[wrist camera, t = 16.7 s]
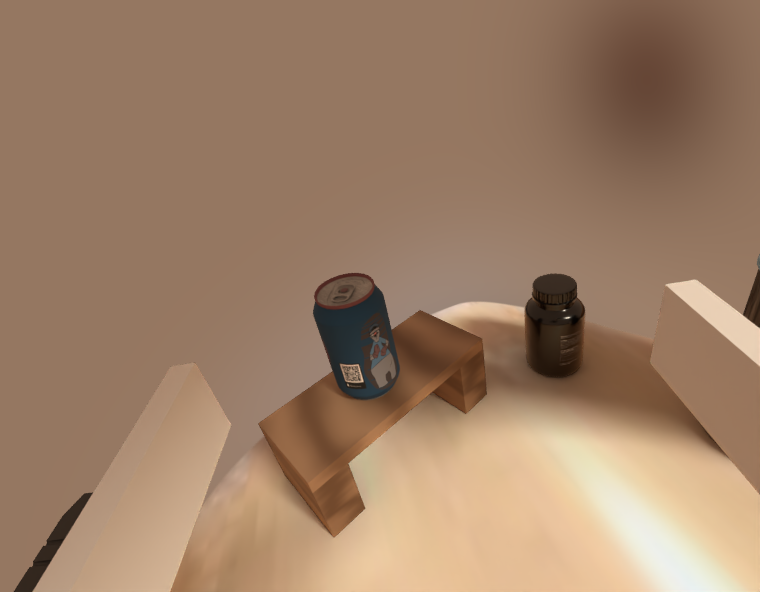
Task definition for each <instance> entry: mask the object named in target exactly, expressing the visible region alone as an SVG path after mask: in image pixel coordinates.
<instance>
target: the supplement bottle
mask: <svg viewBox="0 0 760 592" xmlns="http://www.w3.org/2000/svg"><path fill="white" fill-rule="evenodd" d="M584 325H585V308H584V305H583V304H582V302H581V301H580V300H579V299H578V298H577V283H576V282H575V280H574V279H573V278H571V277H570V276H567V275H564V274H547V275H543V276H540V277H538V278H537V279H535V281H534V283H533V292H532V298H531V299H530V300H529V301H528V302H527V304H526V306H525V340H526V358H527V362H528V364H529V365H530V367H531V368H532V369H534V370H535V371H536V372H538V373H540V374H543V375H546V376H550V377H563V376H567V375H570V374H572V373H574V372H576V371H577V370H578V369H579V368H580V366H581V364H582V358H583V343H584Z"/></svg>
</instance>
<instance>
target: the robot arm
mask: <svg viewBox="0 0 760 592" xmlns="http://www.w3.org/2000/svg"><path fill="white" fill-rule="evenodd" d="M757 265H758V268H759V269H758V272H757V276H756V278H755V281H754V284H753V287H752V290H751V293H750V296H749V298H748V301H747V304H746V307H745V310H744V313H743V315H741V314H740V313H739V312H737V311H736V310H735V309H734V308H732V307H731V306H730V305H728V304H727V303H726V302H724V301H723V300H722V299H721V298H719V297H718V296H717V295H715V294H714V293H713V292H711V291H710V290H709V289H707V288H706V287H705V286H704V285H702V284H701V283H700V282H698V281H697V280H690V281H684V282H678V283H673V284H666V285H665V288H664V293H663V299H662V303H661V308H660V314H659V319H658V324H657V329H656V334H655V339H654V344H653V349H652V354H651V359H650V364H651V365H652V366H653V367H654V369H655V370H656V371H657V372H658V373H659V375H660V376H661V377H662V378H663V379H664V381H665V382H666V383H667V384H668V385H669V387H670V388H671V389H672V390H673V391H674V393H675V394H676V395H677V396H678V397H679V399H680V400H681V401H682V402H683V403H684V405H685V406H686V407H687V408H688V409H689V410H690V412H691V413H692V414H693V415H694V416H695V418H696V419H697V420H698V421H699V422H700V424H701V425H702V426H703V428H704V429H705V430H706V432H707V433H708V434H709V435H710V436H711V437H712V439H713V440H715V442H716V443H717V444H718V445H719V446H720V448H721V449H722V450H723V451H724V452H725V454H726V455H727V456H728V457H729V458H730V460H731V461H732V462H733V463H734V464H735V466H736V467H737V468H738V469H739V470H740V472H741V473H742V474H743V475H744V476H745V478H746V479H747V480H748V481H749V482H750V484H751V485H752V486H753V487H754V488H755V490H756V491H757V492H758V493H759V494H760V254H759V256H758V261H757ZM230 427H231V424H230V422H229V420H228V418H227V417H226V415H225V413H224V412H223V410H222V408H221V406H220V405H219V403H218V401H217V399H216V398H215V396H214V394H213V393H212V391H211V389H210V387H209V385H208V384H207V382H206V380H205V378H204V377H203V375H202V373H201V372H200V370H199V368H198V366H197V365H196V363H195V362H194V363H188V364H182V365H176V366H171V367H170V368H169V370H168V372H167V373H166V375H165V376H164V378H163V380H162V381H161V383H160V385H159V386H158V388H157V389H156V391H155V393H154V394H153V396H152V398H151V399H150V401H149V403H148V404H147V406H146V407H145V409H144V411H143V412H142V414H141V416H140V417H139V419H138V421H137V422H136V424H135V425H134V427H133V429H132V430H131V432H130V434H129V435H128V437H127V439H126V440H125V442H124V443H123V445H122V447H121V448H120V450H119V451H118V453H117V455H116V456H115V458H114V460H113V461H112V463H111V465H110V466H109V468H108V470H107V471H106V473H105V474H104V476H103V478H102V479H101V481H100V483H99V484H98V486H97V488H96V489H95V491H94V492H93V493H86V494H84V495H83V496H82V497H81V498H80V499H79V500H78V501H77V502H76V503H75V504H74V505H73V506H72V507H71V508H70V509H69V510H68V511H67V512H66V513H65V514H64V515H63V516H62V518H61V519H60V521H59V522H58V524H57V526H56V527H55V529H54V531H53V532H52V533H51V535H50V536H49V538H48V539H47V544H46V546H43V547H42V549H41V550H40V552H39V553H38V555H37V557H36V558H35V560H34V561H33V566H32V567H30V568H29V569H28V571H27V572H26V573H25V575H24V577H23V578H22V580H21V581H20V583H19V584H18V586H17V588H16V589H15V591H14V592H170V591H171V588H172V586H173V583H174V580H175V577H176V575H177V572H178V569H179V566H180V564H181V561H182V558H183V556H184V553H185V550H186V547H187V545H188V542H189V539H190V536H191V534H192V531H193V528H194V525H195V523H196V520H197V517H198V515H199V512H200V509H201V506H202V504H203V501H204V498H205V495H206V493H207V490H208V487H209V484H210V482H211V479H212V476H213V473H214V470H215V468H216V465H217V463H218V460H219V457H220V454H221V452H222V449H223V446H224V443H225V441H226V438H227V435H228V433H229V430H230Z"/></svg>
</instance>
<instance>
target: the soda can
mask: <svg viewBox="0 0 760 592" xmlns="http://www.w3.org/2000/svg"><path fill="white" fill-rule="evenodd" d="M314 298H315V305H314V310H313V314H314V318H315V321H316V324H317V327H318V330H319V333H320V335H321V338H322V341H323V344H324V347H325V350H326V353H327V355H328V359H329V362H330V364H331V367H332V370H333V373H334V376H335V379H336V382H337V385H338V387H339V388H340V389H341V390H342V391H343V392H344V393H346V394H347V395H349V396H351V397H353V398H355V399H357V400H364V401H367V400H374V399H377V398H380V397H382V396H383V395H385V394H386V393H388V392H389V391H390V390H391V389H392V387H393V386H394V384H395V382H396V380H397V378H398V376H399V372H400V365H399V360H398V356H397V352H396V347H395V343H394V339H393V334H392V330H391V326H390V321H389V317H388V313H387V309H386V304H385V300H384V296H383V294H382V292H381V291H380V289H379V288H377V286H376V285H375V284H374V281H373V279H371V277H369V276H368V275H365V274H361V273H348V274H343V275H339V276H336V277H334V278H331V279H329V280H327V281H325V282H324V283H323V284H321V285H320V286H319V287H318V288H317V290H316V292H315V295H314Z"/></svg>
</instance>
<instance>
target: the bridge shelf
mask: <svg viewBox="0 0 760 592" xmlns="http://www.w3.org/2000/svg"><path fill="white" fill-rule="evenodd" d="M392 334H393V339H394V343H395V347H396V352H397V356H398V360H399V365H400V372H399V376H398V378H397V380H396V382H395V384H394V386H393V387H392V389H391V390H390V391H389V392H388V393H386V394H385V395H383V396H382V397H380V398H377V399H374V400H367V401H364V400H357V399H355V398H353V397H351V396H349V395H347V394H346V393H344V392H343V391H342V390H341V389H340V388H339V387H338V385H337V382H336V379H335V376H334V373H333V371H332V372H331V373H330V374H328V375H327V376H325V377H324V378H322V379H321V380H320V381H318V382H317V383H315V384H314V385H312V386H311V387H310V388H308V389H307V390H305V391H304V392H302V393H301V394H300V395H298V396H297V397H295V398H294V399H292V400H291V401H290V402H288V403H287V404H285V405H284V406H282V407H281V408H280V409H278V410H277V411H275V412H274V413H273V414H271V415H270V416H268V417H267V418H265V419H264V420H263V421H261V422H260V423H259V426H260V428H261V430H262V432H263V434H264V436H265V438H266V439H267V441H268V443H269V445H270V447H271V449H272V451H273V453H274V455H275V457H276V459H277V460H278V462H279V464H280V466H281V468H282V470H283V472H284V474H285V476H286V477H287V478H288V480H289V481H290V482H291V483H292V485H293V486H294V487H295V488H296V490H297V491H298V492H299V494H300V495H301V496H302V497H303V499H304V500H305V501H306V502H307V504H308V505H309V506H310V508H311V509H312V510H313V511H314V513H315V514H316V515H317V516H318V518H319V519H320V520H321V521H322V523H323V524H324V525H325V527H326V528H327V529H328V530H329V532H330V533H331V534H332V535H333V537H335V536H336V535H337V534H338V533H340V532H341V531H342V530H343V529H344V528H345V527H346V526H347V525H348V524H349V523H350V522H351V521H352V520H353V519H354V518H356V517H357V516H358V515H359V514H360V513H361V512H362V511H363V510H364V509H365V507H364V504H363V501H362V499H361V496H360V493H359V491H358V488H357V486H356V483H355V480H354V478H353V475H352V472H351V470H350V467H349V465H348V463H349V462H350V461H351V460H353V459H354V458H355V457H356V456H357V455H358V454H360V453H361V452H362V451H363V450H364V449H366V448H367V447H368V446H369V445H370V444H371V443H373V442H374V441H375V440H376V439H377V438H378V437H380V436H381V435H382V434H383V433H384V432H386V431H387V430H388V429H389V428H390V427H391V426H393V425H394V424H395V423H396V422H397V421H398V420H400V419H401V418H402V417H403V416H404V415H406V414H407V413H408V412H409V411H410V410H411V409H413V408H414V407H415V406H416V405H417V404H418V403H420V402H421V401H422V400H423V399H424V398H426V397H427V396H428V395H429V394H430V393H431V392H433V393H434V394H436V395H438V396H439V397H441V398H442V399H444V400H445V401H447V402H449V403H450V404H452V405H453V406H455V407H456V408H458V409H460V410H461V411H463V412H464V413H467V412H468V411H470V410H471V409H472V408H473V407H474V406H475V405H476V404H477V403H478V402H479V401H480V400H481V399H482V398H483V397H484V396H486V395H487V391H486V379H485V367H484V355H483V343H482V338H480V337H477V336H475V335H473V334H471V333H469V332H467V331H464V330H462V329H460V328H458V327H456V326H453V325H451V324H449V323H447V322H445V321H443V320H440V319H438V318H436V317H434V316H432V315H429V314H427V313H425V312H423V311H421V310H420V311H418V312H417V313H415V314H414V315H413V316H411V317H410V318H408V319H407V320H406V321H404V322H402V323H401V324H400V325H398V326H397V327H395V328H394V329H392Z"/></svg>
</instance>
